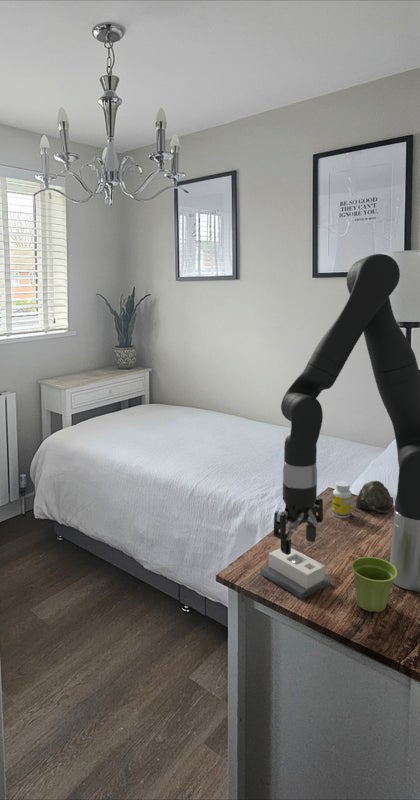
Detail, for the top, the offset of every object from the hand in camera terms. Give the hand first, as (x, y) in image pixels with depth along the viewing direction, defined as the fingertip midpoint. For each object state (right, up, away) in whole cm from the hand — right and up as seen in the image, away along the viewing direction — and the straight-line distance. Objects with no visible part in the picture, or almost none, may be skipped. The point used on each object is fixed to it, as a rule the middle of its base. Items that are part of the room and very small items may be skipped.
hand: (298, 547), depth 120 cm
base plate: (0, -8, +2) cm, 9 cm away
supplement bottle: (+19, -1, +36) cm, 41 cm away
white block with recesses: (0, -7, +2) cm, 7 cm away
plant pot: (+15, -11, -7) cm, 19 cm away
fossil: (+30, 0, +40) cm, 50 cm away
